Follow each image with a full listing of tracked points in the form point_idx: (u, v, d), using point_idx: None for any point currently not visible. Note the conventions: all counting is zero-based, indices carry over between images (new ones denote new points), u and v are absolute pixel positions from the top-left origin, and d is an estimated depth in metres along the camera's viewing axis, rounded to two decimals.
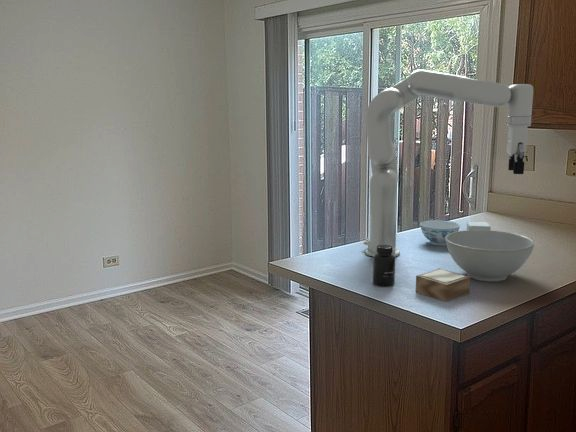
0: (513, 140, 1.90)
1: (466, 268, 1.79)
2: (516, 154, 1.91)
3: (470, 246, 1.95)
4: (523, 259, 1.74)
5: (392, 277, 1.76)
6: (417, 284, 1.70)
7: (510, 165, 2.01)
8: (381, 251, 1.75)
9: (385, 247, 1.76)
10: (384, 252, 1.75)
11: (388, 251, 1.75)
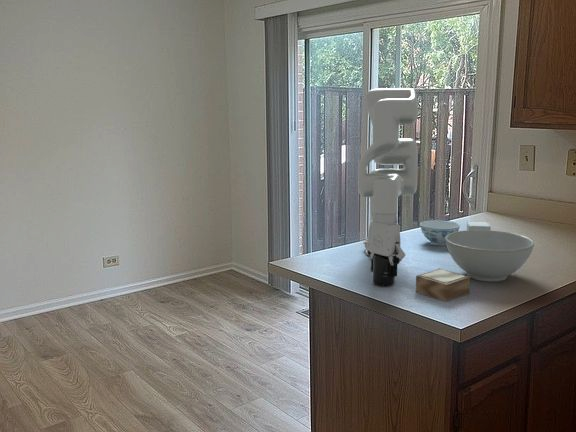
0: (391, 240, 1.71)
1: (466, 268, 1.79)
2: (392, 256, 1.73)
3: (470, 246, 1.95)
4: (523, 259, 1.74)
5: (392, 277, 1.76)
6: (417, 284, 1.70)
7: None
8: None
9: None
10: None
11: None
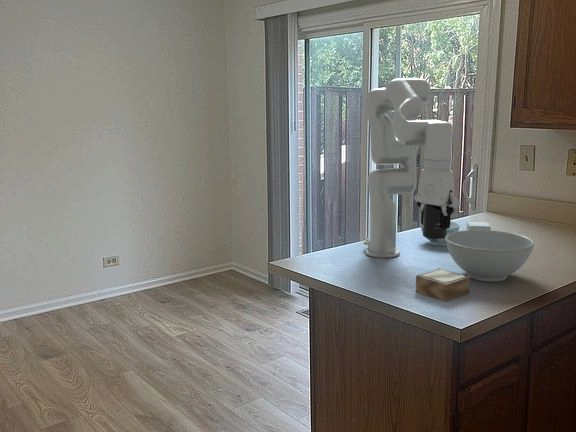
0: (445, 188, 1.60)
1: (466, 268, 1.79)
2: (445, 206, 1.62)
3: (470, 246, 1.95)
4: (523, 259, 1.74)
5: (444, 229, 1.65)
6: (417, 284, 1.70)
7: None
8: None
9: None
10: None
11: None
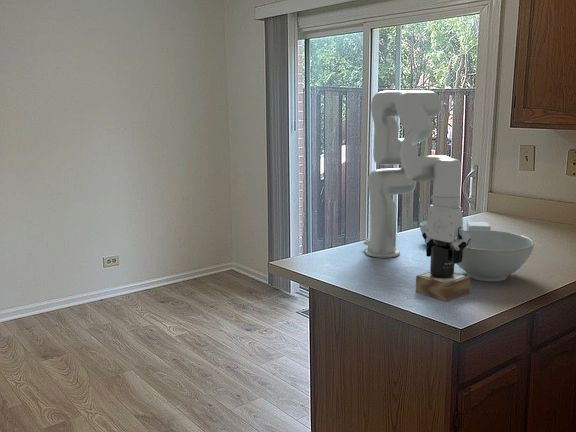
0: (454, 225, 1.61)
1: (466, 268, 1.79)
2: (456, 241, 1.62)
3: (470, 246, 1.95)
4: (523, 259, 1.74)
5: (452, 269, 1.66)
6: (417, 284, 1.70)
7: (429, 251, 1.70)
8: None
9: None
10: (444, 242, 1.65)
11: None
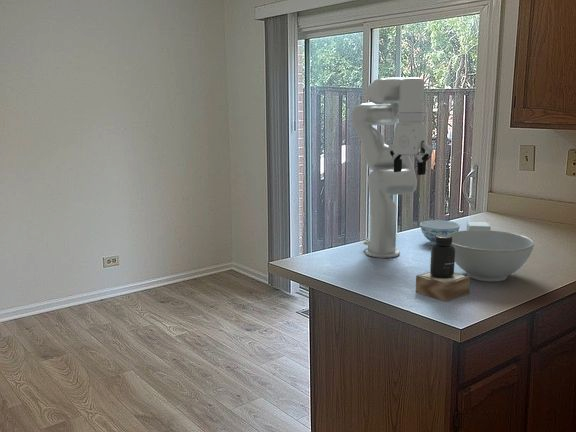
0: (417, 138, 1.74)
1: (466, 268, 1.79)
2: (419, 153, 1.76)
3: (470, 246, 1.95)
4: (523, 259, 1.74)
5: (452, 269, 1.66)
6: (417, 284, 1.70)
7: (396, 166, 1.84)
8: (441, 240, 1.65)
9: (445, 237, 1.66)
10: (444, 242, 1.65)
11: (448, 241, 1.65)
